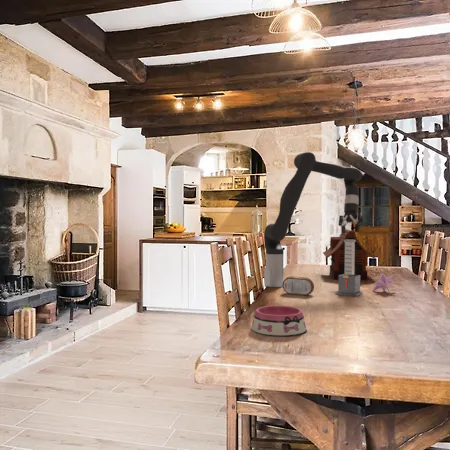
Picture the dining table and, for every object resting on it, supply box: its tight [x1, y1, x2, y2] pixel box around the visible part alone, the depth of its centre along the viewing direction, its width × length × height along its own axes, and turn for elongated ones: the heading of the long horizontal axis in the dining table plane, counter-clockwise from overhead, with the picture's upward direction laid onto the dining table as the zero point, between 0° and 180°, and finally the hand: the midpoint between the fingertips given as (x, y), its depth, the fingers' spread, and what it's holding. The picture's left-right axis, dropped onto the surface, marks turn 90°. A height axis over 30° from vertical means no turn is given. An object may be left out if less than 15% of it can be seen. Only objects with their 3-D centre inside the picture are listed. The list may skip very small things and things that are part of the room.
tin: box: [282, 276, 315, 296], centre depth 219 cm, size 15×3×8 cm, turn 65°
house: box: [322, 228, 376, 282], centre depth 281 cm, size 35×28×29 cm
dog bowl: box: [250, 305, 308, 338], centre depth 153 cm, size 18×19×7 cm
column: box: [344, 239, 356, 276], centre depth 221 cm, size 4×4×25 cm
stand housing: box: [335, 274, 364, 297], centre depth 221 cm, size 10×10×9 cm
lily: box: [372, 272, 395, 295], centre depth 226 cm, size 12×12×10 cm
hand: (349, 232), depth 251 cm, fingers open, 8 cm apart
